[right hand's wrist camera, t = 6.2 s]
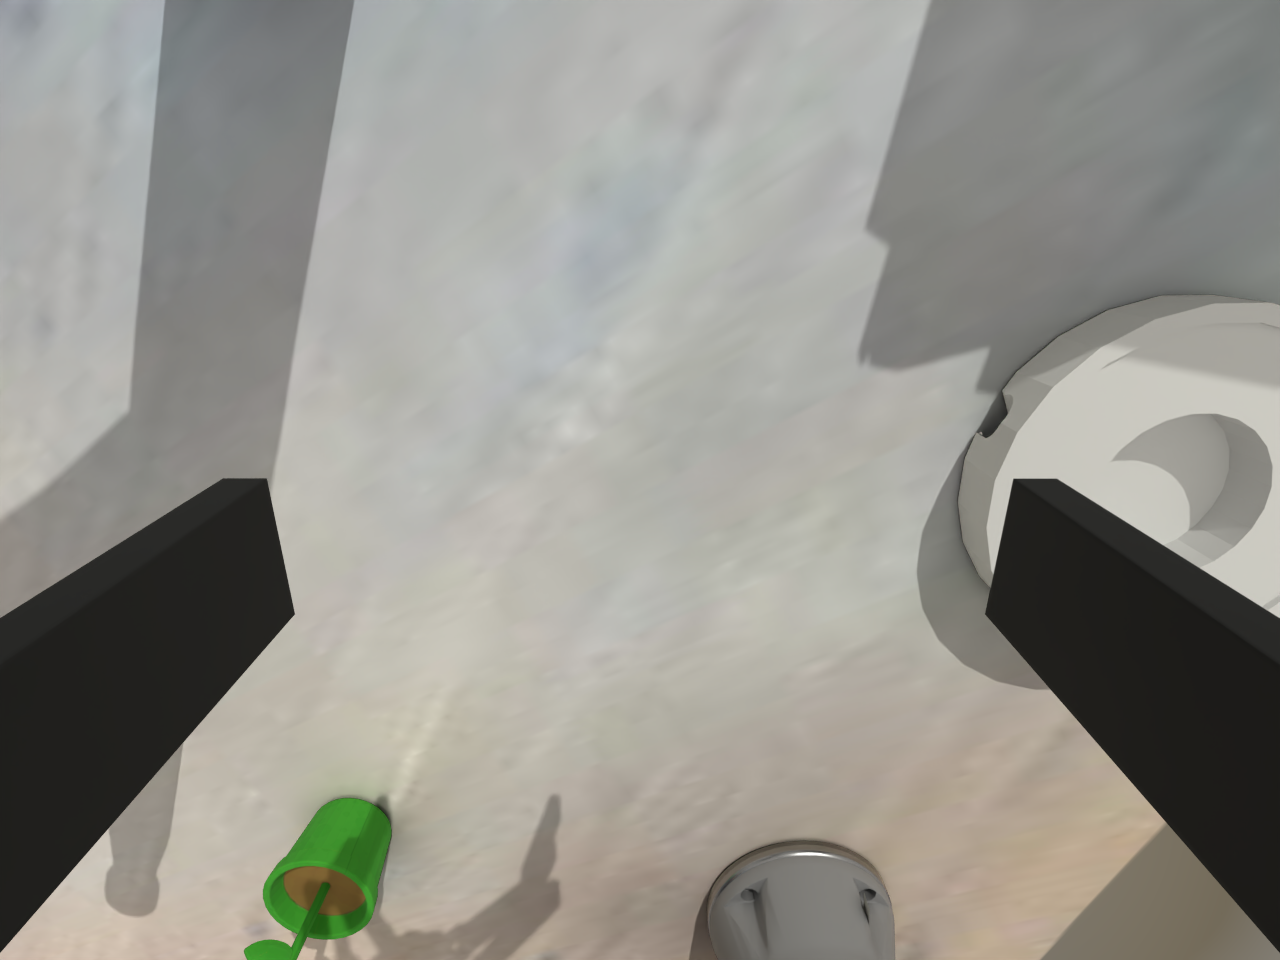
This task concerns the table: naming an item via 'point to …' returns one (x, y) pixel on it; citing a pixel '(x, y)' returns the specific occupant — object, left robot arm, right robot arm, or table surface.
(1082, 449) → the ashtray
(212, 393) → the table surface
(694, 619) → the table surface
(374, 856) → the potted flower
